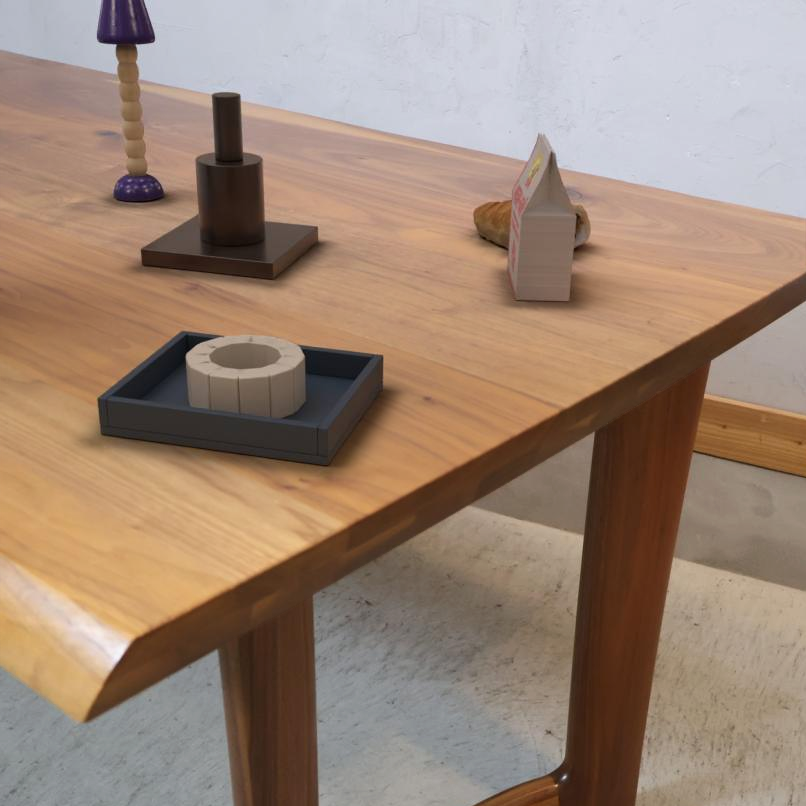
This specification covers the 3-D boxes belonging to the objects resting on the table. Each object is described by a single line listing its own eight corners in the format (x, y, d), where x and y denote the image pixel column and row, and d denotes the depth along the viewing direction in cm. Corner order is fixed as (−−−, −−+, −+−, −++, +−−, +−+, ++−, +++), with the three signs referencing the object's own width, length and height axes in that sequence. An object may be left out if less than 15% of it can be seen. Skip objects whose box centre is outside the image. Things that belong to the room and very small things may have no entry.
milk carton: (556, 270, 85) (568, 133, 81) (568, 301, 79) (581, 154, 75) (507, 269, 85) (515, 132, 80) (515, 299, 79) (525, 153, 74)
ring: (170, 416, 59) (166, 369, 58) (216, 373, 64) (214, 329, 63) (281, 431, 58) (279, 383, 57) (319, 386, 63) (318, 341, 62)
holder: (141, 264, 83) (127, 100, 78) (198, 228, 91) (189, 78, 86) (273, 279, 81) (268, 112, 76) (318, 241, 90) (316, 88, 85)
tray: (100, 434, 58) (96, 398, 57) (183, 362, 67) (181, 330, 66) (327, 466, 56) (327, 429, 55) (383, 387, 65) (383, 354, 64)
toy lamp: (101, 192, 100) (81, -13, 93) (149, 185, 103) (134, -15, 96) (128, 204, 97) (110, -8, 90) (177, 197, 100) (163, -9, 93)
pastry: (453, 238, 92) (455, 190, 90) (502, 222, 97) (505, 177, 95) (551, 263, 87) (555, 213, 85) (598, 245, 92) (602, 198, 90)
